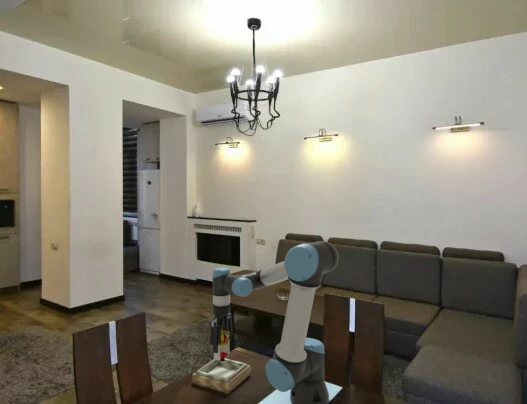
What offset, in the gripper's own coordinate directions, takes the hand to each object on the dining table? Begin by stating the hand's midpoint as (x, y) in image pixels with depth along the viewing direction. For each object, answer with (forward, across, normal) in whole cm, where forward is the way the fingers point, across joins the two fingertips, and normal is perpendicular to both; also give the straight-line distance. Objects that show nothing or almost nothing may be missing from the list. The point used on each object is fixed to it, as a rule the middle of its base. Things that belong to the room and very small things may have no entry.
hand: (221, 356), depth 157 cm
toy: (+2, 0, 0) cm, 2 cm away
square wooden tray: (+10, 0, 0) cm, 10 cm away
